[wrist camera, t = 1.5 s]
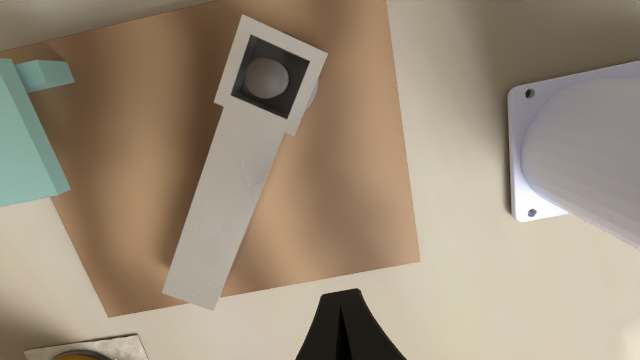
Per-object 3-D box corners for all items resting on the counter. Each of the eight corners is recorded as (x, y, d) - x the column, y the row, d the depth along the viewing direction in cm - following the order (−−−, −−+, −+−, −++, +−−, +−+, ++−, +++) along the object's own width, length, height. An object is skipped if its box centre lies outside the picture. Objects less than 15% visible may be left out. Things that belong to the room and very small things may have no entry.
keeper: (82, 61, 17) (4, 55, 13) (125, 167, 19) (68, 192, 15) (-19, 84, 18) (-128, 86, 13) (32, 186, 19) (-50, 217, 15)
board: (376, -31, 16) (396, -71, 12) (414, 251, 21) (439, 296, 16) (4, 57, 17) (-100, 50, 13) (119, 305, 22) (70, 360, 18)
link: (250, 20, 15) (242, 14, 14) (327, 55, 16) (328, 53, 14) (166, 273, 20) (152, 289, 18) (229, 295, 20) (221, 313, 18)
